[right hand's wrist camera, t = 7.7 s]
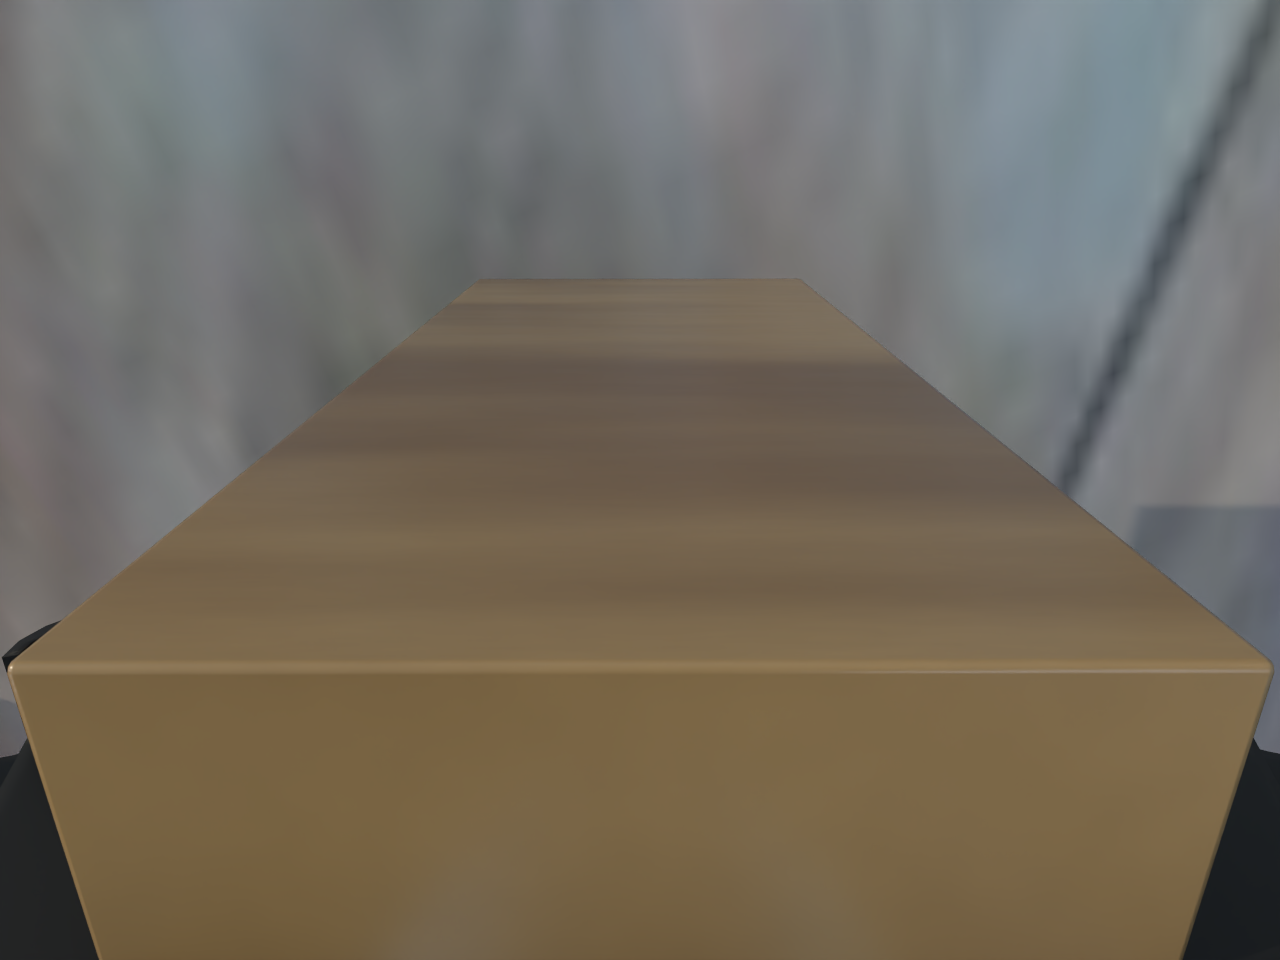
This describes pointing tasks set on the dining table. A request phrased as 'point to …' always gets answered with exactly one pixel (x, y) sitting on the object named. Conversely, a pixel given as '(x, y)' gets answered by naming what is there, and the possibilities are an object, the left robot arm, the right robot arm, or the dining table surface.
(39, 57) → the dining table surface
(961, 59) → the dining table surface
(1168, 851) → the box
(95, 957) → the right robot arm
